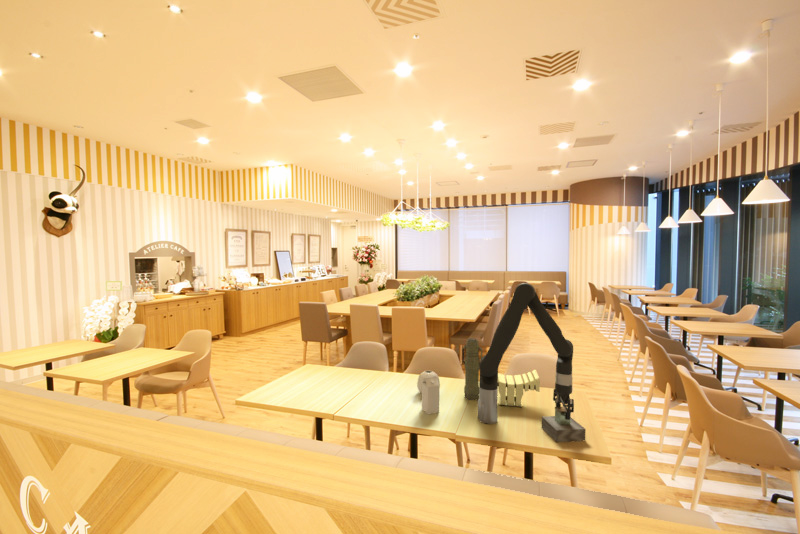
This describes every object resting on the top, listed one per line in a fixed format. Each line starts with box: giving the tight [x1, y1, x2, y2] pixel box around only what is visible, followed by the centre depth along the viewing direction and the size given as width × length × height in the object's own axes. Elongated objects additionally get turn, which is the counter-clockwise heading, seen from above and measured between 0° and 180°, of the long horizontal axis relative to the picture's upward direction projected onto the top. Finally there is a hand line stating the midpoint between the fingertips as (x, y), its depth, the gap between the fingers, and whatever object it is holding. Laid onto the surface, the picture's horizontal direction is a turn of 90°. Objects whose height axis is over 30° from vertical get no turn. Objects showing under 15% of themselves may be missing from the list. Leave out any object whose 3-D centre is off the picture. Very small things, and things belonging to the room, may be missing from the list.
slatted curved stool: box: [497, 369, 541, 408], centre depth 211 cm, size 30×16×18 cm, turn 78°
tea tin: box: [554, 406, 572, 425], centre depth 174 cm, size 5×5×6 cm
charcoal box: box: [541, 415, 586, 443], centre depth 174 cm, size 14×14×6 cm
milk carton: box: [421, 376, 440, 415], centre depth 199 cm, size 7×7×19 cm
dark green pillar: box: [461, 338, 483, 401], centre depth 218 cm, size 9×12×35 cm
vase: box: [416, 369, 441, 394], centre depth 224 cm, size 14×14×13 cm
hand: (562, 415), depth 174 cm, fingers open, 8 cm apart
